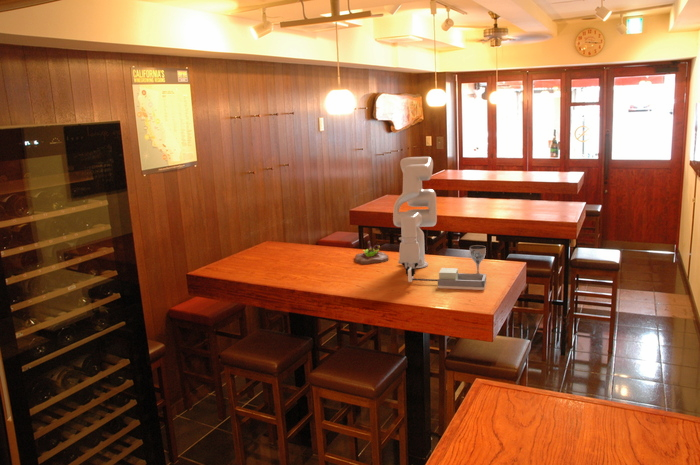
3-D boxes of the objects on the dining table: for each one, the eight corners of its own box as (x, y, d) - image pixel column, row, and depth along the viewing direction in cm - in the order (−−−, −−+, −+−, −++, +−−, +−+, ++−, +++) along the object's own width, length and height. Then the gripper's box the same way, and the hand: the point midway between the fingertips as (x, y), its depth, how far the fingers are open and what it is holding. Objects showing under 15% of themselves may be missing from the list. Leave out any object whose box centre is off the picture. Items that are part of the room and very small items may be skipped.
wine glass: (474, 278, 287) (474, 249, 284) (467, 274, 294) (466, 246, 291) (488, 276, 289) (488, 247, 286) (481, 272, 296) (481, 244, 293)
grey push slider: (407, 283, 282) (407, 271, 281) (410, 278, 289) (410, 266, 288) (455, 284, 275) (455, 272, 273) (458, 280, 282) (457, 267, 281)
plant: (383, 254, 346) (382, 236, 344) (391, 262, 327) (391, 243, 325) (351, 257, 343) (350, 239, 340) (357, 265, 324) (356, 246, 321)
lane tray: (437, 288, 276) (437, 279, 275) (441, 280, 287) (441, 272, 286) (484, 289, 269) (484, 281, 268) (486, 282, 280) (486, 274, 279)
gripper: (392, 241, 280) (393, 277, 284) (423, 241, 275) (424, 278, 279) (395, 237, 287) (397, 272, 291) (426, 238, 282) (427, 273, 286)
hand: (410, 275), depth 285 cm, fingers closed on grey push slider
